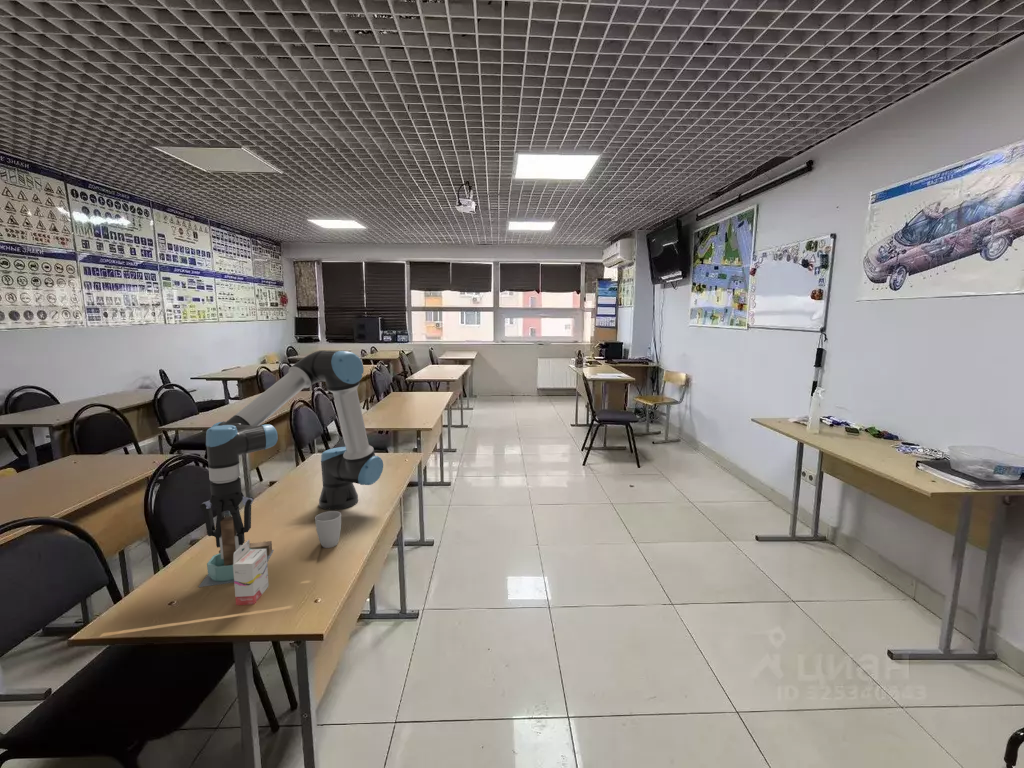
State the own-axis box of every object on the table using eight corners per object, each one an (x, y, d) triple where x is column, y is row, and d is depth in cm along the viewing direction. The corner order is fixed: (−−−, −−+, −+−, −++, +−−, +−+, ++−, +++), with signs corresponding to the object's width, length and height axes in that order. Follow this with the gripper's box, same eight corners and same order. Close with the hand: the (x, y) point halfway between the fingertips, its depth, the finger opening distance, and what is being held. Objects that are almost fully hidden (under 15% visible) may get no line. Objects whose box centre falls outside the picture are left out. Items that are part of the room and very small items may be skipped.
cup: (347, 540, 152) (346, 512, 151) (331, 551, 145) (329, 522, 144) (328, 537, 155) (327, 509, 154) (311, 548, 147) (309, 519, 146)
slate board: (274, 551, 145) (274, 549, 145) (258, 581, 128) (257, 579, 128) (222, 557, 142) (222, 555, 141) (198, 589, 124) (198, 587, 124)
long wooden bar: (272, 550, 145) (271, 541, 144) (269, 555, 142) (268, 545, 141) (223, 556, 141) (222, 546, 141) (219, 561, 138) (218, 551, 138)
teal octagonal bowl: (259, 558, 139) (258, 545, 139) (248, 578, 128) (247, 564, 128) (218, 563, 137) (217, 550, 136) (203, 584, 126) (202, 569, 125)
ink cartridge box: (255, 606, 116) (251, 553, 115) (235, 607, 116) (230, 553, 114) (270, 587, 125) (266, 537, 123) (251, 588, 125) (247, 538, 123)
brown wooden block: (240, 560, 134) (236, 515, 132) (236, 565, 131) (232, 520, 129) (228, 561, 133) (224, 517, 132) (224, 567, 130) (220, 521, 129)
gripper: (260, 472, 135) (265, 546, 138) (198, 477, 131) (205, 553, 134) (252, 480, 128) (258, 558, 130) (187, 486, 123) (194, 566, 126)
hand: (231, 555), depth 132 cm, fingers closed on brown wooden block, 3 cm apart
